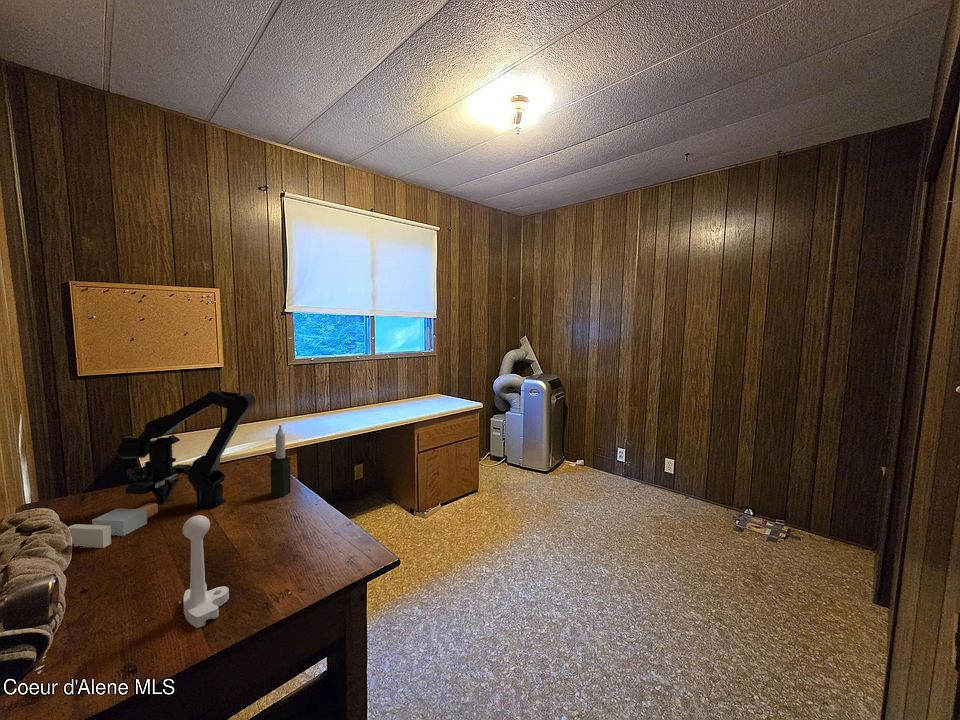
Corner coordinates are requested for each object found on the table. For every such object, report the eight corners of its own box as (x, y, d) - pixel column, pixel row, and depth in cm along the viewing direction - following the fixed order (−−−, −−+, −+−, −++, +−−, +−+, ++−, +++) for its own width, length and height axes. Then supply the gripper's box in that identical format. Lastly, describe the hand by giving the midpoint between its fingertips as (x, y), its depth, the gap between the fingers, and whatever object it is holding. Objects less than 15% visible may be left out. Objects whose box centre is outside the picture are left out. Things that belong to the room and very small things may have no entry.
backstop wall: (111, 543, 101) (110, 525, 101) (103, 548, 99) (102, 529, 99) (75, 542, 102) (74, 524, 101) (66, 546, 100) (66, 527, 99)
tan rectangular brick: (157, 512, 119) (157, 503, 119) (140, 522, 113) (139, 512, 113) (148, 512, 119) (148, 503, 119) (130, 521, 113) (130, 512, 113)
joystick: (179, 602, 80) (177, 511, 79) (221, 586, 86) (220, 500, 84) (190, 631, 73) (188, 530, 71) (236, 611, 78) (234, 517, 77)
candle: (281, 498, 132) (281, 427, 130) (269, 496, 133) (268, 426, 131) (292, 492, 137) (291, 423, 135) (279, 490, 138) (279, 422, 136)
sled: (147, 523, 112) (146, 509, 112) (123, 535, 105) (123, 521, 105) (117, 522, 112) (117, 508, 112) (92, 534, 106) (92, 519, 105)
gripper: (162, 447, 131) (164, 491, 132) (107, 465, 113) (108, 516, 114) (193, 448, 131) (194, 492, 132) (142, 467, 112) (144, 518, 113)
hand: (162, 504), depth 122 cm, fingers closed
